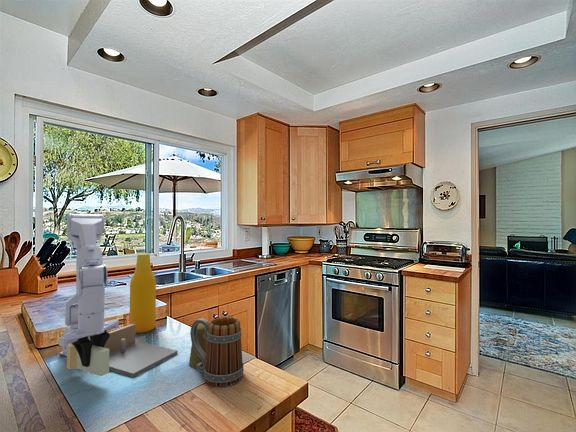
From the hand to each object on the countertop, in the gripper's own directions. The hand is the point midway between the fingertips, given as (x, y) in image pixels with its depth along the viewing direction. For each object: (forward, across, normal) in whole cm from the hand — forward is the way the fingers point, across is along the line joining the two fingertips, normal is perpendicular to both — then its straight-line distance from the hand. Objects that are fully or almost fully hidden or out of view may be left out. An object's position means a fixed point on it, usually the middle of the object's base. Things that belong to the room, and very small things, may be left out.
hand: (90, 363), depth 80 cm
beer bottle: (+5, +33, +20) cm, 39 cm away
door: (+2, 0, +1) cm, 2 cm away
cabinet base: (+4, +14, +1) cm, 15 cm away
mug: (+5, +16, -28) cm, 33 cm away
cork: (+5, +20, -19) cm, 28 cm away
